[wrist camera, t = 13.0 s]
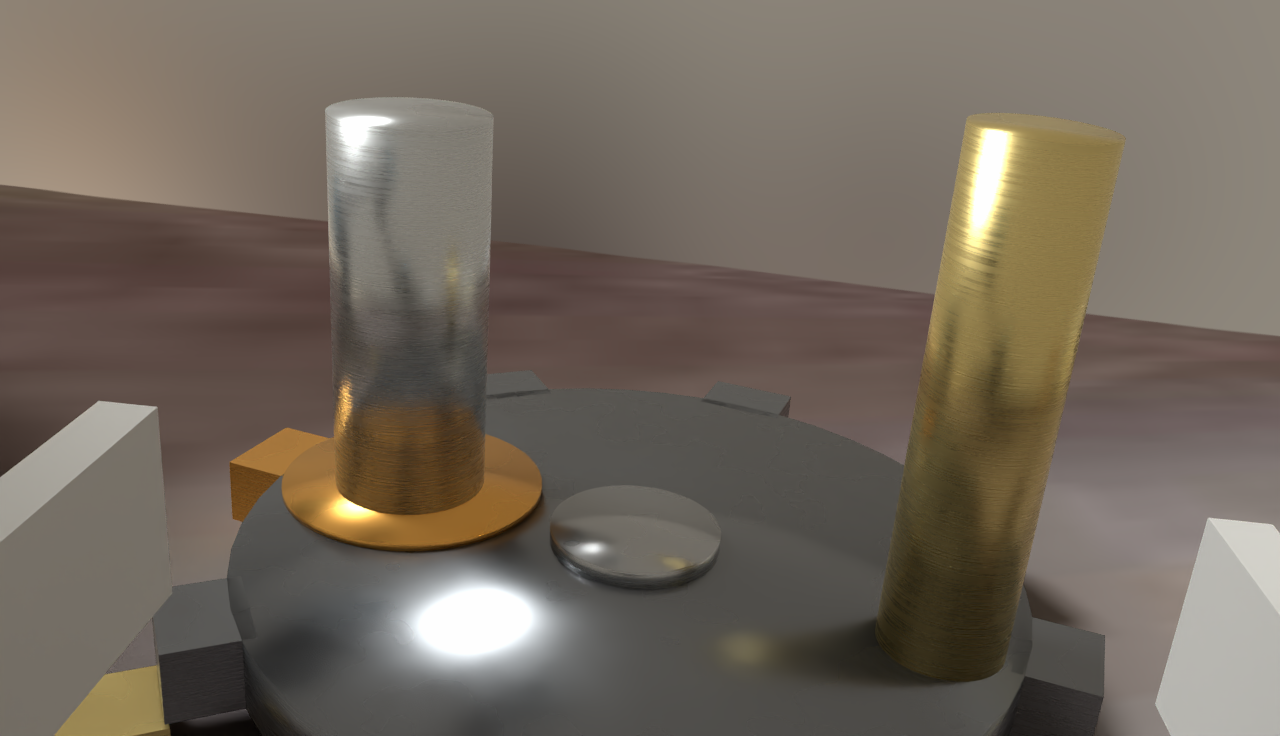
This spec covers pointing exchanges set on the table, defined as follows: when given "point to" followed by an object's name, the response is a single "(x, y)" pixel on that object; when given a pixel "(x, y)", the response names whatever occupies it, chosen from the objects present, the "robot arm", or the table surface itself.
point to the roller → (409, 299)
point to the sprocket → (699, 536)
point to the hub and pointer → (120, 707)
